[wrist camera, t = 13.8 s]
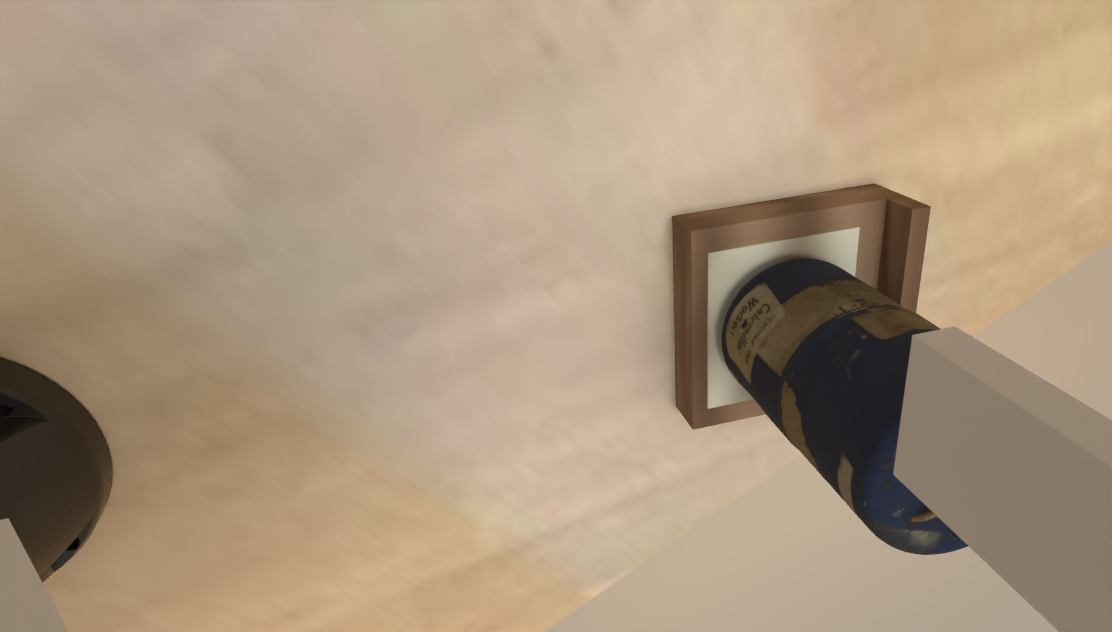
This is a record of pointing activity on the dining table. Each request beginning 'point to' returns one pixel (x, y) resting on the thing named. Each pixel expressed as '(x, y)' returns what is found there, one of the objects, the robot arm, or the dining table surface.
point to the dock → (765, 240)
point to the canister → (835, 386)
